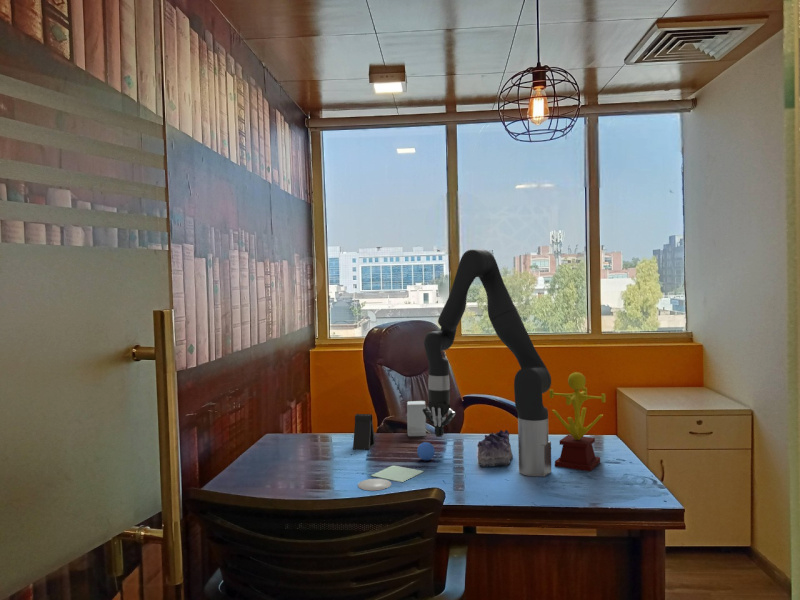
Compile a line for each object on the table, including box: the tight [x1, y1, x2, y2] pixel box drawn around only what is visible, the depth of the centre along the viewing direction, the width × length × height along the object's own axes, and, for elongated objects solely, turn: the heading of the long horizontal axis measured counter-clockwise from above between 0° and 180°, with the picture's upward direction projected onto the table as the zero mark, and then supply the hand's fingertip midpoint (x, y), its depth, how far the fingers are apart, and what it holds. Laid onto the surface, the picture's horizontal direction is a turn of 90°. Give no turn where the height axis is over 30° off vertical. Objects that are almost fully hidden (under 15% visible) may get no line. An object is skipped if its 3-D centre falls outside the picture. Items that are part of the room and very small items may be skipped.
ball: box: [416, 441, 436, 461], centre depth 201 cm, size 6×6×6 cm
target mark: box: [370, 465, 424, 483], centre depth 187 cm, size 12×12×1 cm
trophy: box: [548, 371, 607, 472], centre depth 193 cm, size 14×16×30 cm
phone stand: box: [352, 413, 376, 451], centre depth 220 cm, size 9×6×12 cm, turn 166°
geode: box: [476, 429, 514, 468], centre depth 199 cm, size 20×12×10 cm, turn 163°
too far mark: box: [357, 478, 392, 492], centre depth 177 cm, size 10×10×1 cm
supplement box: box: [406, 400, 427, 437], centre depth 236 cm, size 7×7×13 cm
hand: (439, 436), depth 209 cm, fingers closed
